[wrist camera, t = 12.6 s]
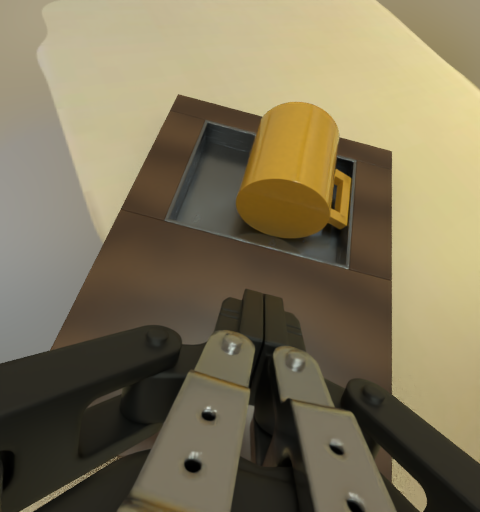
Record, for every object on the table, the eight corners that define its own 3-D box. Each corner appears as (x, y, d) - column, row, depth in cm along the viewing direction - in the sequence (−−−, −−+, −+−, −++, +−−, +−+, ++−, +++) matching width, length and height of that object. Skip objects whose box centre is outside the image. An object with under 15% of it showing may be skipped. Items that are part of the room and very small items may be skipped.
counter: (370, 515, 20) (392, 527, 18) (30, 428, 20) (10, 428, 18) (379, 168, 34) (392, 151, 32) (179, 115, 34) (178, 94, 32)
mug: (265, 161, 21) (285, 84, 25) (221, 212, 27) (243, 144, 31) (377, 225, 24) (379, 146, 28) (314, 258, 30) (323, 190, 34)
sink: (336, 281, 28) (349, 269, 25) (166, 236, 27) (163, 220, 25) (346, 177, 33) (356, 159, 31) (204, 139, 33) (205, 119, 31)
